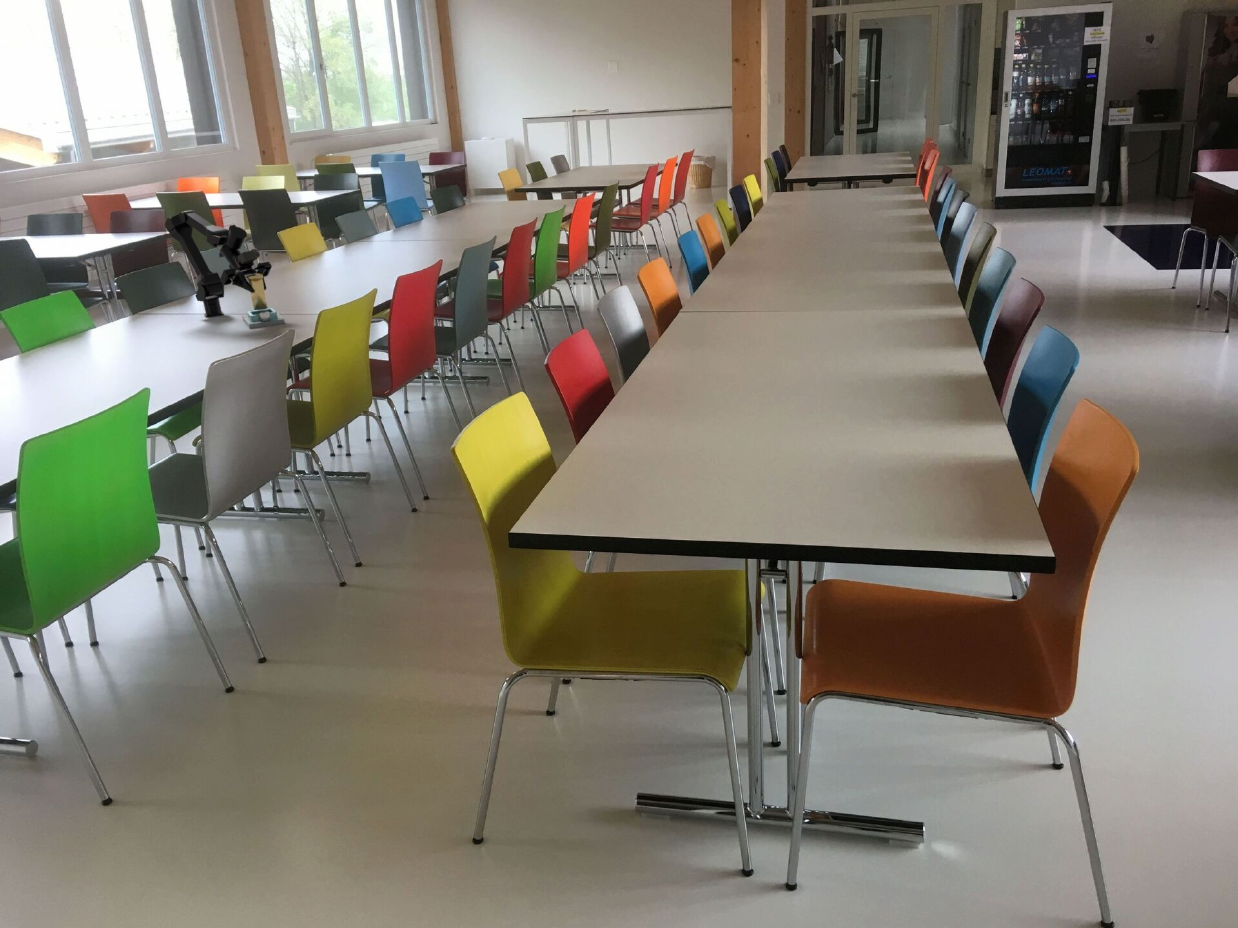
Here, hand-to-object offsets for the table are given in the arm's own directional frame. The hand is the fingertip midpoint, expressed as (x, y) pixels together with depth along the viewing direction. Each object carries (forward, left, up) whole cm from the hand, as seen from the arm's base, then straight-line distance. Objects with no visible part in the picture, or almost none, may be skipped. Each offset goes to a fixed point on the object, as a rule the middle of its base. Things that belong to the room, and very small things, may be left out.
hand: (259, 290), depth 343 cm
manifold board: (-1, -1, -11) cm, 11 cm away
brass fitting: (-1, -1, -7) cm, 7 cm away
